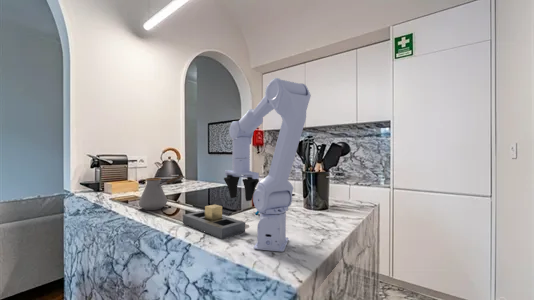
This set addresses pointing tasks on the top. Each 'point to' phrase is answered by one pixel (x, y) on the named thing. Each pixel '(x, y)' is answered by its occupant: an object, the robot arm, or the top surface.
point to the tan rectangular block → (213, 212)
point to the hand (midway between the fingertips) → (240, 199)
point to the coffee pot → (154, 194)
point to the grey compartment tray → (215, 225)
